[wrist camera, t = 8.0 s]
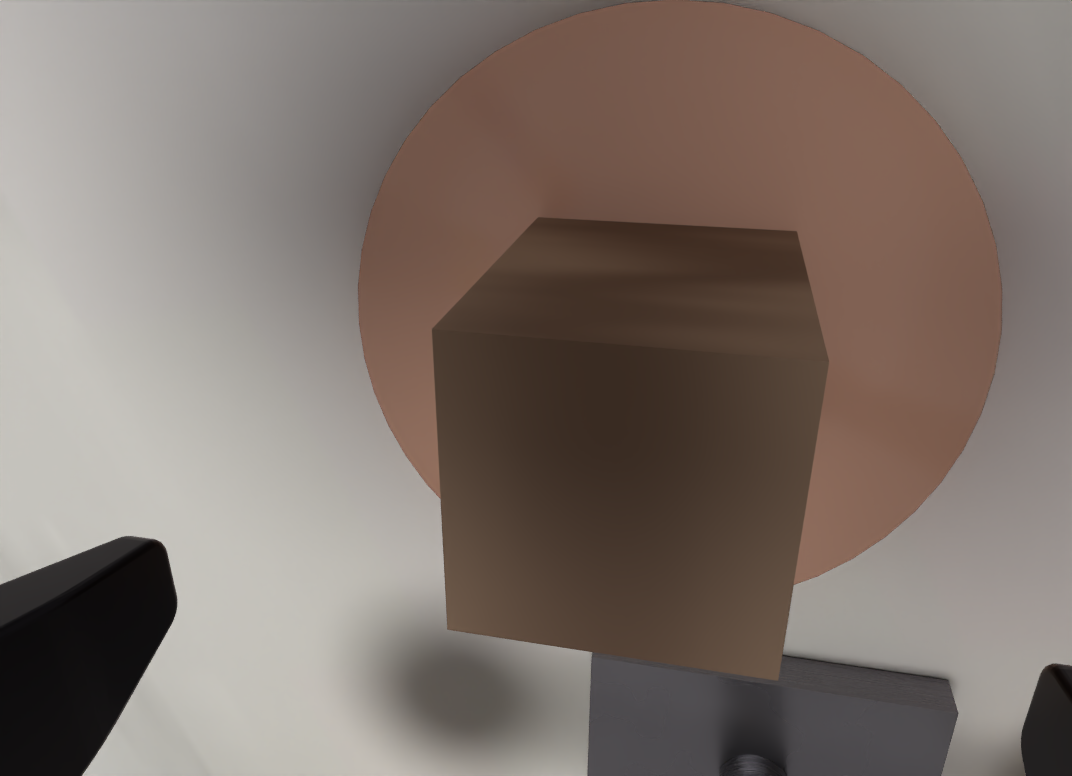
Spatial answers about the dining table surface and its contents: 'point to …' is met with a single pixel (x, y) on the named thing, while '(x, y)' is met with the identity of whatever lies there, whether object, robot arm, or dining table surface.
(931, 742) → the balance
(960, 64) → the dining table surface
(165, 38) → the dining table surface
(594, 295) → the block
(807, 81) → the dish
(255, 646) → the dining table surface
